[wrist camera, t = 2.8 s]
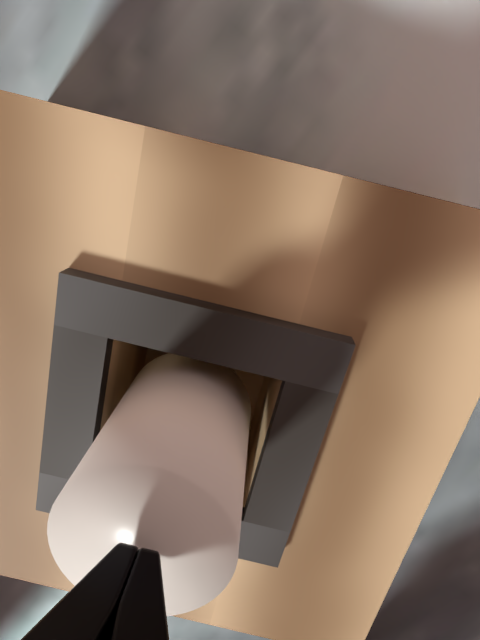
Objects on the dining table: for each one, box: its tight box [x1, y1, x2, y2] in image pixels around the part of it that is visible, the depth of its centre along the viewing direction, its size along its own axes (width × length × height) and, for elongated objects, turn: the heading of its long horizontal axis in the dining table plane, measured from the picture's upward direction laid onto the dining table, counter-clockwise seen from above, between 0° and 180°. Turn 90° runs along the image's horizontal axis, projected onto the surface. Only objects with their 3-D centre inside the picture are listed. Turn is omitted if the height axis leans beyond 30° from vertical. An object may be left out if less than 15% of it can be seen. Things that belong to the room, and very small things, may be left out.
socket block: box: [0, 90, 480, 640], centre depth 16 cm, size 16×16×7 cm
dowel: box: [47, 353, 251, 616], centre depth 12 cm, size 4×4×6 cm
